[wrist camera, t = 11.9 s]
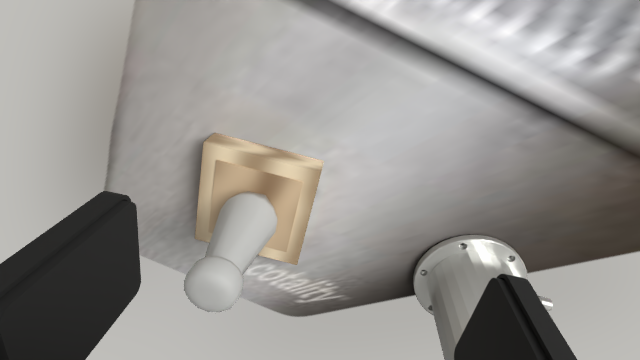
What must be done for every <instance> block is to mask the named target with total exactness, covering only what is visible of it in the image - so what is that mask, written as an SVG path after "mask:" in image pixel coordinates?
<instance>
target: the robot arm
mask: <svg viewBox="0 0 640 360" xmlns="http://www.w3.org/2000/svg"><path fill="white" fill-rule="evenodd" d="M139 259H140V258H139V242H138V226H137V210H136V205H135V203H133V202H131V199H130V198H129V196H127V195H122V194H118V193H113V192H108V191H103V192H101V193H100V194H98V195H97V196H95V197H94V198H93V199H91V200H90V201H88V202H87V203H85V204H84V205H83V206H81V207H80V208H78V209H77V210H76V211H74V212H73V213H71V214H70V215H68V217H66V218H64V219H63V220H61V221H60V222H59V223H57V224H56V225H55V226H53V227H52V228H50V229H49V230H47V231H46V232H45V233H43V234H42V235H40V236H39V237H38V238H36V239H35V240H34V241H32V242H31V243H29V244H28V245H26V246H25V247H24V248H22V249H21V250H19V251H18V252H16V253H15V254H14V255H12V256H11V257H9V258H8V259H7V260H5V261H4V262H2V263H1V264H0V360H85V359H86V358H87V357H88V355H89V354H90V352H91V351H92V350H93V349H94V348H95V346H96V345H97V344H98V343H99V341H100V340H101V339H102V337H103V336H104V335H105V334H106V332H107V331H108V330H109V328H110V327H111V326H112V325H113V323H114V322H115V321H116V319H117V318H118V317H119V316H120V314H121V313H122V312H123V311H124V309H125V308H126V307H127V305H128V304H129V303H130V302H131V300H132V299H133V298H134V297H135V295H136V294H137V292H138V290H139V287H140V283H141V275H140V260H139ZM413 285H414V291H415V294H416V297H417V299H418V301H419V302H420V304H421V305H422V307H424V309H425V310H426V311H428V312H429V313H431V314H432V315H434V317H435V322H436V326H437V330H438V334H439V338H440V342H441V347H442V351H443V355H444V359H445V360H577V359H576V357H575V355H574V354H573V352H572V351H571V349H570V347H569V346H568V344H567V342H566V341H565V339H564V338H563V336H562V334H561V333H560V331H559V330H558V328H557V326H556V325H555V323H554V322H553V319H552V317H551V316H550V315H549V313H548V312H547V311H550V310H551V309H552V307H553V303H552V300H551V299H549V298H545V297H541V296H537V294H536V292H535V291H534V289H533V287H532V286H531V284H530V283H529V281H528V279H527V270H526V267H525V265H524V263H523V261H522V259H521V258H520V256H519V255H518V254H517V252H516V251H515V250H514V249H513V248H512V247H510V246H509V245H508V244H506V243H505V242H502V241H500V240H498V239H496V238H492V237H488V236H482V235H463V236H458V237H454V238H450V239H448V240H445V241H443V242H441V243H439V244H437V245H435V246H434V247H432V248H431V249H430V250H429V251H427V252H426V253H425V254H424V255H423V257H422V258H421V259H420V260H419V262H418V264H417V266H416V268H415V271H414V275H413Z"/></svg>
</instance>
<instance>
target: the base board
mask: <svg viewBox="0 0 640 360" xmlns="http://www.w3.org/2000/svg"><path fill="white" fill-rule="evenodd" d="M323 163H324V161H322V160H318V159H314V158H310V157H306V156H303V155H299V154H295V153H291V152H287V151H283V150H279V149H275V148H272V147H268V146H264V145H260V144H256V143H252V142H248V141H244V140H241V139H237V138H233V137H229V136H225V135H221V134H217V133H214V134H213V135H212V136H210V137H209V138H208V139H207V140H206V141H204V142H203V153H202V164H201V175H200V186H199V197H198V208H197V219H196V230H195V239H197V240H201V241H205V242H209V243H210V240H211V237H212V234H213V231H214V228H215V225H216V222H217V219H218V216H219V213H220V210H221V208H222V207H223V206H224V204H225V203H226V202H227V200H228V199H230V198H232V197H234V196H236V195H238V194H240V193H244V192H248V191H250V192H254V193H259V194H263V195H266V196H267V198H268V200H269V201H270V203H271V204H272V206H273V207H274V209H275V212H276V215H277V226H276V231H275V233H274V235H273V236H272V237H271V238H270V240H269V241H268V242H267V243H266V245H265V246H264V247H263V249H262V250H261V251H260V253H259V254H258V255H260V256H264V257H267V258H271V259H275V260H279V261H283V262H287V263H291V264H295V265H297V263H298V259H299V255H300V252H301V248H302V244H303V240H304V236H305V232H306V228H307V225H308V221H309V217H310V213H311V209H312V205H313V202H314V198H315V194H316V190H317V186H318V182H319V178H320V175H321V171H322V167H323Z"/></svg>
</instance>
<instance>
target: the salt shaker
mask: <svg viewBox="0 0 640 360" xmlns="http://www.w3.org/2000/svg"><path fill="white" fill-rule="evenodd" d="M276 226H277V215H276V212H275V209H274V207H273V206H272V204H271V203H270V201H269V200H268V198H267V196H266V195H263V194H259V193H254V192H250V191H248V192H244V193H240V194H238V195H236V196H234V197H232V198H230V199H228V200H227V202H226V203H225V204H224V206H223V207H222V208H221V210H220V213H219V216H218V219H217V222H216V225H215V228H214V231H213V234H212V237H211V240H210V243H209V246H208V249H207V252H206V255H205V258H203V259H200V260H199V261H197V262H196V263H195V264H194V266H193V267H192V268H191V270H190V271H189V272H188V274H187V275H186V278H185V280H184V291H185V293H186V295H187V297H188V299H189V300H190V301H191V302H192V303H193V304H194V305H195V306H197V307H198V308H200V309H203V310H205V311H208V312H222V311H225V310H228V309H230V308H231V307H232V306H233V305H234V304H235V303H236V301H237V300H238V299H239V297H240V295H241V293H242V289H243V282H244V278H243V276H242V275H243V274H244V272H245V271H246V270H247V268H248V267H249V266H250V264H251V263H252V262H253V261H254V259H255V258H256V257H257V255H258V254H259V253H260V251H261V250H262V249H263V247H264V246H265V245H266V243H267V242H268V241H269V240H270V238H271V237H272V236H273V235H274V233H275V231H276Z"/></svg>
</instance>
